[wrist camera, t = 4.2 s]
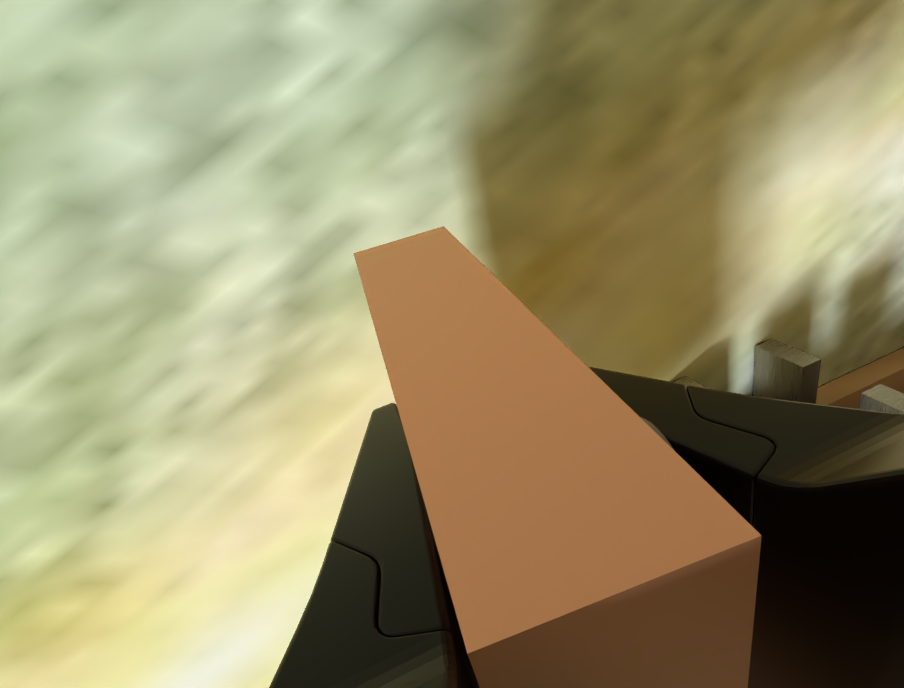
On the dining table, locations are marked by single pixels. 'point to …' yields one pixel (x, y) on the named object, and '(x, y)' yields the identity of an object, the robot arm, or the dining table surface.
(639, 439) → the cabinet door
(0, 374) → the dining table surface
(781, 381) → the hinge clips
